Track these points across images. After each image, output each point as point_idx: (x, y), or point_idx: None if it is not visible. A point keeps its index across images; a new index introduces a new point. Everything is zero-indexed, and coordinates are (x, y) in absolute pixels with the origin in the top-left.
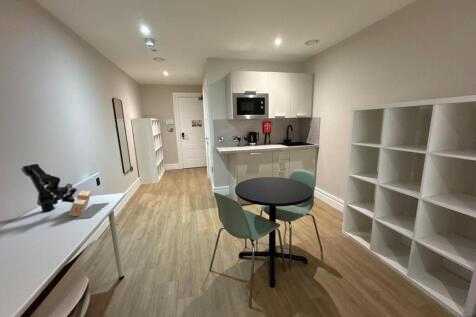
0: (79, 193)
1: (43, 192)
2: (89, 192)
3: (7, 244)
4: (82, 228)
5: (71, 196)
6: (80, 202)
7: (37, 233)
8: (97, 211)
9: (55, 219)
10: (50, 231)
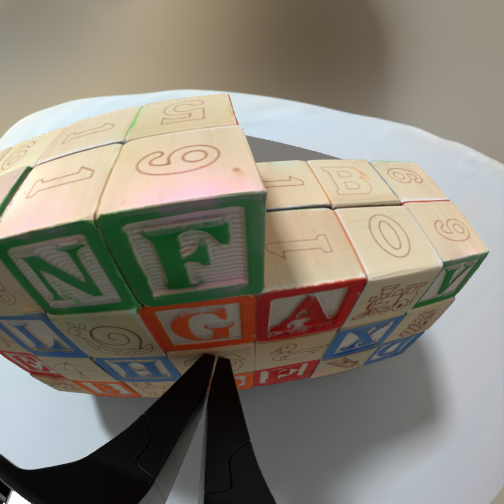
0: (94, 208)
1: None
2: (20, 145)
3: (499, 487)
4: (488, 198)
5: (131, 471)
6: (402, 189)
7: (481, 441)
8: (308, 154)
9: (316, 493)
10: (492, 375)
